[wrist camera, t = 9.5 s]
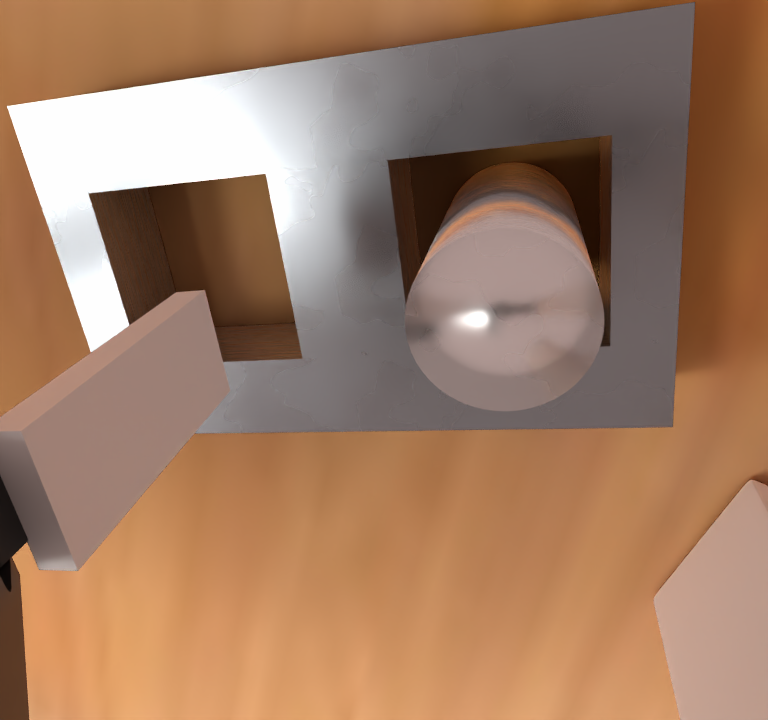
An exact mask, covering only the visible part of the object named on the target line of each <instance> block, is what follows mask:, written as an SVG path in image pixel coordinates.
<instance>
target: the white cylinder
mask: <svg viewBox="0 0 768 720" xmlns="http://www.w3.org/2000/svg"><path fill="white" fill-rule="evenodd" d="M405 331H406V336H407V341H408V344H409V347H410V350H411V353H412V355H413V357H414V359H415V361H416V363H417V364H418V366H419V367H420V369H421V370H422V372H423V373H424V374H425V375H426V377H427V378H428V379H429V380H430V381H431V382H432V383H433V384H434V385H435V386H436V387H438V388H439V389H440V390H441V391H443V392H444V393H446V394H447V395H448V396H450V397H452V398H454V399H456V400H458V401H460V402H462V403H465V404H467V405H470V406H473V407H477V408H480V409H485V410H492V411H518V410H524V409H529V408H533V407H536V406H539V405H543V404H545V403H547V402H549V401H552V400H554V399H556V398H557V397H559V396H561V395H562V394H564V393H565V392H567V391H568V390H569V389H570V388H572V387H573V386H574V385H575V384H576V383H577V382H578V381H579V380H580V379H581V378H582V377H583V376H584V375H585V373H586V372H587V371H588V369H589V368H590V367H591V365H592V363H593V361H594V359H595V358H596V356H597V353H598V350H599V348H600V345H601V341H602V337H603V332H604V308H603V303H602V299H601V295H600V291H599V288H598V285H597V281H596V278H595V275H594V271H593V268H592V265H591V261H590V258H589V255H588V251H587V248H586V245H585V241H584V238H583V235H582V231H581V228H580V225H579V221H578V218H577V215H576V211H575V208H574V205H573V202H572V199H571V197H570V195H569V194H568V192H567V190H566V189H565V187H564V186H563V185H562V183H561V182H560V181H559V180H558V179H557V178H556V177H554V176H553V175H552V174H550V173H549V172H547V171H545V170H544V169H542V168H539V167H537V166H534V165H531V164H527V163H519V162H507V163H501V164H496V165H493V166H490V167H488V168H485V169H483V170H481V171H480V172H478V173H476V174H475V175H473V176H472V177H471V178H470V179H469V180H467V181H466V182H465V184H464V185H463V186H462V187H461V188H460V190H459V191H458V192H457V194H456V196H455V197H454V199H453V201H452V203H451V205H450V207H449V209H448V211H447V213H446V216H445V218H444V220H443V222H442V224H441V226H440V228H439V230H438V232H437V234H436V236H435V238H434V241H433V243H432V245H431V247H430V249H429V251H428V253H427V255H426V257H425V259H424V261H423V263H422V266H421V268H420V270H419V272H418V274H417V276H416V278H415V280H414V282H413V284H412V287H411V290H410V292H409V295H408V299H407V303H406V309H405Z"/></svg>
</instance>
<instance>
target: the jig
mask: <svg viewBox="0 0 768 720" xmlns="http://www.w3.org/2000/svg"><path fill="white" fill-rule="evenodd" d="M694 13H695V2H692V3H686V4H679V5H672V6H666V7H659V8H653V9H646V10H639V11H633V12H626V13H620V14H613V15H606V16H600V17H593V18H587V19H580V20H573V21H567V22H560V23H554V24H547V25H540V26H534V27H527V28H521V29H514V30H507V31H501V32H494V33H488V34H481V35H474V36H468V37H461V38H455V39H448V40H441V41H435V42H428V43H422V44H415V45H408V46H402V47H395V48H389V49H382V50H375V51H369V52H362V53H356V54H349V55H342V56H336V57H329V58H323V59H316V60H309V61H303V62H296V63H290V64H283V65H276V66H270V67H263V68H257V69H250V70H243V71H237V72H230V73H224V74H217V75H210V76H204V77H197V78H191V79H184V80H177V81H171V82H164V83H158V84H151V85H144V86H138V87H131V88H125V89H118V90H111V91H105V92H98V93H92V94H85V95H78V96H72V97H65V98H59V99H52V100H45V101H39V102H32V103H26V104H19V105H12V106H7V107H8V110H9V113H10V116H11V119H12V122H13V125H14V128H15V131H16V134H17V137H18V140H19V143H20V145H21V148H22V151H23V154H24V157H25V160H26V163H27V166H28V169H29V172H30V175H31V178H32V181H33V184H34V186H35V189H36V192H37V195H38V198H39V201H40V204H41V207H42V210H43V213H44V216H45V219H46V222H47V225H48V228H49V230H50V233H51V236H52V239H53V242H54V245H55V248H56V251H57V254H58V257H59V260H60V263H61V266H62V269H63V271H64V274H65V277H66V280H67V283H68V286H69V289H70V292H71V295H72V298H73V301H74V304H75V307H76V310H77V312H78V315H79V318H80V321H81V324H82V327H83V330H84V333H85V336H86V339H87V342H88V345H89V348H90V351H91V352H93V351H94V350H95V349H97V348H98V347H100V346H101V345H102V344H104V343H105V342H107V341H108V340H110V339H111V338H112V337H114V336H115V335H117V334H118V333H119V332H121V331H122V330H124V329H125V328H126V327H128V326H129V325H131V324H132V323H134V322H135V321H136V320H138V319H139V318H141V317H142V316H143V315H145V314H146V313H148V312H149V311H150V310H152V309H153V308H155V307H156V306H158V305H159V304H160V303H162V302H163V301H165V300H166V299H167V298H169V297H170V296H172V295H173V294H174V293H176V290H175V286H174V283H173V279H172V275H171V272H170V268H169V264H168V261H167V257H166V253H165V250H164V246H163V242H162V239H161V235H160V232H159V228H158V224H157V221H156V217H155V213H154V210H153V206H152V202H151V199H150V195H149V191H148V188H147V187H151V186H160V185H169V184H178V183H187V182H196V181H205V180H213V179H222V178H231V177H240V176H249V175H258V174H266V178H267V183H268V188H269V193H270V198H271V203H272V208H273V213H274V218H275V223H276V228H277V233H278V238H279V243H280V248H281V253H282V258H283V263H284V268H285V273H286V278H287V283H288V288H289V293H290V298H291V303H292V308H293V313H294V318H295V323H283V324H264V325H246V326H227V327H214V328H215V332H216V336H217V340H218V344H219V348H220V352H221V356H222V360H223V364H224V368H225V372H226V376H227V380H228V384H229V388H230V392H229V393H228V394H227V395H226V397H225V398H224V399H223V400H222V401H221V402H220V404H219V405H218V406H217V407H216V408H215V410H214V411H213V412H212V413H211V414H210V415H209V417H208V418H207V419H206V420H205V421H204V423H203V424H202V425H201V426H200V427H199V428H198V430H197V431H196V432H195V433H194V434H197V433H272V432H347V431H422V430H497V429H572V428H646V427H673V410H674V391H675V372H676V353H677V335H678V316H679V297H680V278H681V259H682V240H683V221H684V202H685V183H686V164H687V146H688V127H689V108H690V89H691V70H692V51H693V32H694ZM591 137H600V198H599V291H600V295H601V299H602V303H603V308H604V332H603V337H602V341H601V345H600V348H599V350H598V353H597V356H596V358H595V359H594V361H593V363H592V365H591V367H590V368H589V369H588V371H587V372H586V373H585V375H584V376H583V377H582V378H581V379H580V380H579V381H578V382H577V383H576V384H575V385H574V386H573V387H572V388H570V389H569V390H568V391H567V392H565V393H564V394H562V395H561V396H559V397H557V398H556V399H554V400H552V401H549V402H547V403H545V404H543V405H539V406H536V407H533V408H529V409H524V410H518V411H492V410H485V409H480V408H477V407H473V406H470V405H467V404H465V403H462V402H460V401H458V400H456V399H454V398H452V397H450V396H448V395H447V394H446V393H444V392H443V391H441V390H440V389H439V388H438V387H436V386H435V385H434V384H433V383H432V382H431V381H430V380H429V379H428V378H427V377H426V375H425V374H424V373H423V372H422V370H421V369H420V367H419V366H418V364H417V363H416V361H415V359H414V357H413V355H412V353H411V350H410V347H409V344H408V341H407V336H406V331H405V309H406V303H407V299H408V295H409V292H410V290H411V287H412V284H413V282H414V280H415V278H416V276H417V274H418V272H419V270H420V268H421V264H420V255H419V246H418V237H417V228H416V219H415V210H414V201H413V193H412V184H411V175H410V166H409V158H411V157H420V156H429V155H438V154H447V153H456V152H465V151H474V150H483V149H492V148H501V147H510V146H519V145H528V144H537V143H546V142H555V141H564V140H573V139H582V138H591Z"/></svg>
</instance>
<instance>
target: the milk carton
mask: <svg viewBox="0 0 768 720" xmlns="http://www.w3.org/2000/svg"><path fill="white" fill-rule="evenodd" d="M654 606H655V610H656V615H657V619H658V624H659V628H660V632H661V637H662V641H663V646H664V650H665V655H666V659H667V663H668V668H669V672H670V677H671V681H672V685H673V690H674V694H675V699H676V703H677V708H678V712H679V716H680V720H768V486H767V485H765V484H762V483H760V482H758V481H755V480H749V481H748V482H747V483H746V484H745V485H744V486H743V487H742V489H741V490H740V491H739V492H738V493H737V495H736V496H735V497H734V498H733V500H732V501H731V502H730V503H729V505H728V506H727V507H726V508H725V509H724V511H723V512H722V513H721V514H720V516H719V517H718V518H717V519H716V521H715V522H714V523H713V524H712V526H711V527H710V528H709V529H708V530H707V532H706V533H705V534H704V535H703V537H702V538H701V539H700V540H699V542H698V543H697V544H696V545H695V547H694V548H693V549H692V550H691V551H690V553H689V554H688V555H687V556H686V558H685V559H684V560H683V561H682V563H681V564H680V565H679V566H678V567H677V569H676V570H675V571H674V572H673V574H672V575H671V576H670V577H669V579H668V580H667V581H666V582H665V584H664V585H663V586H662V587H661V589H660V590H659V591H658V592H657V594H656V595H655V597H654Z"/></svg>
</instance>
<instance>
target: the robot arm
mask: <svg viewBox="0 0 768 720" xmlns="http://www.w3.org/2000/svg"><path fill="white" fill-rule="evenodd" d="M229 392H230V388H229V384H228V380H227V376H226V372H225V368H224V364H223V360H222V356H221V352H220V348H219V344H218V340H217V336H216V332H215V328H214V324H213V320H212V316H211V313H210V309H209V305H208V301H207V297H206V293H205V290H200V291H186V292H176V293H174V294H173V295H172V296H170V297H169V298H167V299H166V300H165V301H163V302H162V303H160V304H159V305H158V306H156V307H155V308H153V309H152V310H150V311H149V312H148V313H146V314H145V315H143V316H142V317H141V318H139V319H138V320H136V321H135V322H134V323H132V324H131V325H129V326H128V327H126V328H125V329H124V330H122V331H121V332H119V333H118V334H117V335H115V336H114V337H112V338H111V339H110V340H108V341H107V342H105V343H104V344H102V345H101V346H100V347H98V348H97V349H95V350H94V351H93V352H91V353H90V354H88V355H87V356H86V357H84V358H83V359H81V360H80V361H78V362H77V363H76V364H74V365H73V366H71V367H70V368H69V369H67V370H66V371H64V372H63V373H62V374H60V375H59V376H57V377H56V378H54V379H53V380H52V381H50V382H49V383H47V384H46V385H45V386H43V387H42V388H40V389H39V390H38V391H36V392H35V393H33V394H32V395H30V396H29V397H28V398H26V399H25V400H23V401H22V402H21V403H19V404H18V405H16V406H15V407H14V408H12V409H11V410H9V411H8V412H6V413H5V414H4V415H2V416H1V417H0V720H29V709H28V694H27V678H26V662H25V647H24V631H23V616H22V600H21V585H20V574H19V572H18V570H17V568H16V565H15V563H14V561H13V559H12V556H13V555H14V554H15V553H16V552H17V551H18V550H19V549H20V548H21V547H22V546H23V545H24V544H25V543H26V542H27V543H28V545H29V547H30V550H31V552H32V554H33V556H34V559H35V561H36V563H37V566H38V568H39V570H63V571H78V570H79V569H80V568H81V567H82V566H83V564H84V563H85V562H86V561H87V560H88V559H89V557H90V556H91V555H92V554H93V553H94V551H95V550H96V549H97V548H98V547H99V546H100V544H101V543H102V542H103V541H104V540H105V538H106V537H107V536H108V535H109V534H110V533H111V531H112V530H113V529H114V528H115V527H116V525H117V524H118V523H119V522H120V521H121V520H122V518H123V517H124V516H125V515H126V514H127V512H128V511H129V510H130V509H131V508H132V507H133V505H134V504H135V503H136V502H137V501H138V499H139V498H140V497H141V496H142V495H143V494H144V492H145V491H146V490H147V489H148V488H149V486H150V485H151V484H152V483H153V482H154V481H155V479H156V478H157V477H158V476H159V475H160V473H161V472H162V471H163V470H164V469H165V467H166V466H167V465H168V464H169V463H170V462H171V460H172V459H173V458H174V457H175V456H176V454H177V453H178V452H179V451H180V450H181V449H182V447H183V446H184V445H185V444H186V443H187V441H188V440H189V439H190V438H191V437H192V436H193V434H194V433H195V432H196V431H197V430H198V428H199V427H200V426H201V425H202V424H203V423H204V421H205V420H206V419H207V418H208V417H209V415H210V414H211V413H212V412H213V411H214V410H215V408H216V407H217V406H218V405H219V404H220V402H221V401H222V400H223V399H224V398H225V397H226V395H227V394H228V393H229Z"/></svg>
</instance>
